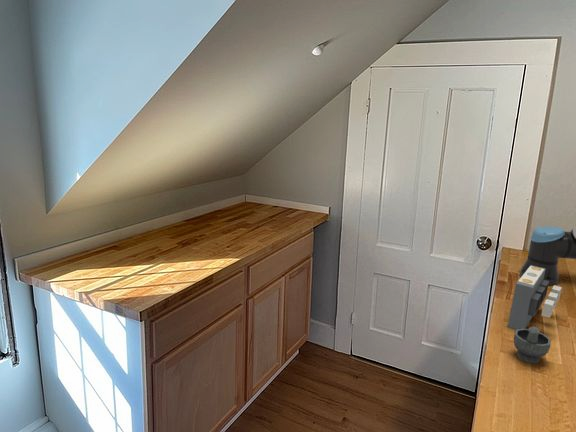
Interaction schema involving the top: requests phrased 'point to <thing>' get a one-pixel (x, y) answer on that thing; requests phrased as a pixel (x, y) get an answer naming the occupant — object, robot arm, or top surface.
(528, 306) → the button panel
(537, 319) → the top surface
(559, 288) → the button
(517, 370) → the top surface
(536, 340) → the mortar and pestle
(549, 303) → the button
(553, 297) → the button middle
